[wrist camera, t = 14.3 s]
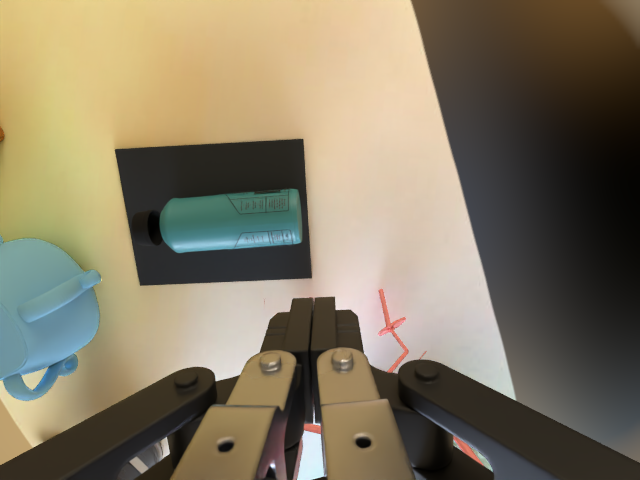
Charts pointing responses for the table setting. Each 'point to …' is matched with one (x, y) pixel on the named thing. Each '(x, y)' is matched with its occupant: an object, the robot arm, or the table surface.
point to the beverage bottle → (223, 221)
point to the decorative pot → (42, 313)
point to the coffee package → (1, 134)
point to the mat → (207, 180)
